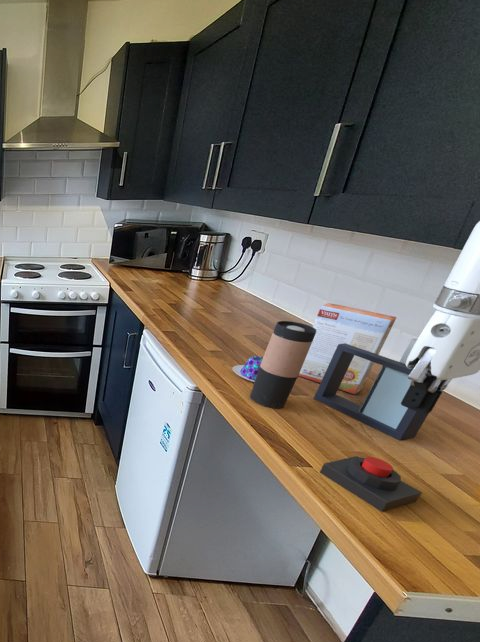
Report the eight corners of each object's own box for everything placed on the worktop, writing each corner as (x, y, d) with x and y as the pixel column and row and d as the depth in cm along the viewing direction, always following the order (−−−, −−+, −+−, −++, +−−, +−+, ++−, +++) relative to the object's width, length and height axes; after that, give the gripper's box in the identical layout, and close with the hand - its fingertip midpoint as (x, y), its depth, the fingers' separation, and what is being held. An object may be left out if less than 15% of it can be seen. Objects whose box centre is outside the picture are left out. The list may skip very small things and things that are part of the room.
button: (393, 476, 70) (398, 468, 69) (379, 479, 69) (384, 471, 68) (369, 462, 73) (374, 455, 73) (356, 466, 72) (360, 458, 72)
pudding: (223, 372, 114) (229, 356, 112) (244, 364, 120) (249, 348, 118) (270, 391, 105) (277, 373, 103) (290, 380, 111) (297, 363, 109)
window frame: (414, 437, 88) (451, 376, 82) (399, 440, 86) (436, 378, 80) (327, 396, 103) (352, 342, 97) (313, 398, 102) (338, 344, 96)
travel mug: (242, 392, 104) (268, 319, 95) (271, 394, 103) (301, 321, 95) (260, 408, 97) (291, 331, 88) (292, 410, 97) (326, 333, 88)
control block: (416, 502, 70) (427, 484, 68) (381, 512, 67) (393, 494, 65) (351, 464, 78) (360, 448, 77) (319, 472, 76) (327, 455, 74)
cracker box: (361, 390, 107) (399, 316, 99) (354, 395, 104) (392, 320, 96) (300, 369, 118) (329, 301, 109) (291, 374, 115) (321, 304, 106)
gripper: (479, 315, 54) (414, 428, 61) (541, 307, 58) (472, 414, 66) (409, 299, 60) (358, 403, 68) (469, 293, 65) (415, 392, 72)
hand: (414, 408), depth 67 cm, fingers closed
